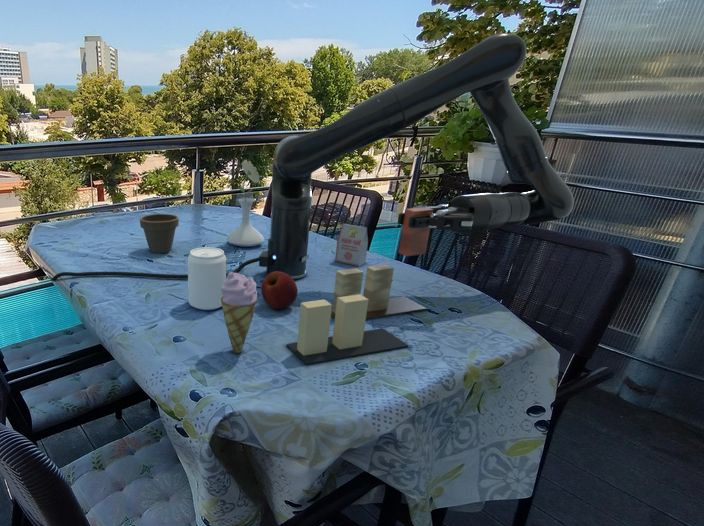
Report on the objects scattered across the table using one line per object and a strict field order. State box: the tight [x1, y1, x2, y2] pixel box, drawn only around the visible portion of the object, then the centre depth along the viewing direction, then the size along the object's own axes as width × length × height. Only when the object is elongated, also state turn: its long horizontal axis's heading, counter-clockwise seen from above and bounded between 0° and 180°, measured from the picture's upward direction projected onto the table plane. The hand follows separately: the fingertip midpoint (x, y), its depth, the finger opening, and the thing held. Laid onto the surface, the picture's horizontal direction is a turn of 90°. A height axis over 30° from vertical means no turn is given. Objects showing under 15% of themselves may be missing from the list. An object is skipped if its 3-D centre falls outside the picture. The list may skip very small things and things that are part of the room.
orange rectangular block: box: [398, 207, 434, 257], centre depth 92 cm, size 4×2×9 cm, turn 105°
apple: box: [260, 271, 298, 310], centre depth 98 cm, size 7×8×8 cm
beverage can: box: [187, 246, 227, 311], centre depth 100 cm, size 8×8×12 cm
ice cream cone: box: [221, 271, 258, 354], centre depth 80 cm, size 7×6×15 cm
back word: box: [331, 264, 428, 320], centre depth 95 cm, size 20×7×9 cm, turn 105°
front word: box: [286, 293, 409, 366], centre depth 81 cm, size 20×7×9 cm, turn 105°
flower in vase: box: [226, 159, 265, 248], centre depth 139 cm, size 13×11×25 cm
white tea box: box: [334, 223, 369, 267], centre depth 123 cm, size 4×7×10 cm, turn 44°
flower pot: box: [139, 213, 180, 254], centre depth 138 cm, size 12×11×10 cm
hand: (405, 220), depth 90 cm, fingers closed on orange rectangular block, 2 cm apart
